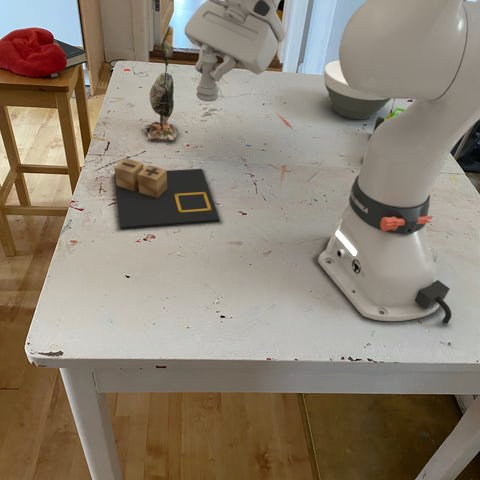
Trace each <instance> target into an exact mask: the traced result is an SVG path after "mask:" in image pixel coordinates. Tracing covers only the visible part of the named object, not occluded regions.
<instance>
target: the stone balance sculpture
mask: <svg viewBox="0 0 480 480" xmlns="http://www.w3.org/2000/svg"><path fill="white" fill-rule="evenodd" d="M161 49H162V50H161V51H162V57H161V58H162V60H163V61H165V63H164V64H165V72H162V73H161V74H159V75H158V76H157V78H156V80H155V81H154V83H153V84H152V86H151V88H150V90H149V102H150V105H151V109H152V111H153V112H154V113H155V114H157V115H159V121H154V122H153V121H152V123H151V124H146V126H145V128H144V132H146V133H145V134H146V135H147V136H148V140H150V141H151V140H155V139H159V140H163V141H165V140H166V141H169V142H173V141H176V139H177V136H178V134H179V129H178V128H176V127H175V126H174V125H173V124H172V123H170V124H169V123H168V121H169V119H170V118H171V116H172V114H173V110H174V107H175V106H174V105H175V104H174V102H175V101H174V79H173V76H172V75H171V74H170V73H168V72H167V71H168V66H169V60H171V59H172V58H173V54H174V53H173V49H172V46H171V44H170V43H169V42H168V40H165V41H163V42H162V45H161ZM171 73H174V71H171Z"/></svg>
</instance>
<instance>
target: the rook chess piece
mask: <svg viewBox="0 0 480 480" xmlns="http://www.w3.org/2000/svg"><path fill="white" fill-rule="evenodd" d="M201 61H202V62H203V66H202V74H201V77H200V81H199V83H198V86H197V87H196V93H195V94H196V97H197V98H198V99H199V100H201V101H204V102H215V101H216V100H218V98H219V88H218V86H217V82H216V81H215V80H213V79H212V78H211V77H210V76H209V73H210V71H212V68H213V67H216V64H217V63H218V57H217V55H216V53H214V54H213V52H210V54H208V51H206V54H205V52H203V56H202V57H201Z"/></svg>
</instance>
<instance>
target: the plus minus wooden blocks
mask: <svg viewBox="0 0 480 480" xmlns="http://www.w3.org/2000/svg"><path fill="white" fill-rule="evenodd" d="M167 171H168V170H167V169H164V168H161V167H158V166H154V165H151V164H147V165H146V166H145V165H144V162H140V161H136V160H134V159H131V158H126V157H125V158H123V159H122V160H121V161H120V162H119V163H117V164H116V165H115V166H114V174H115V177H116V185H117V186H119V187H122V188H126V189H129V190H132V191H135V190H136V189H137V188H138V187H139V193H142V194H145V195H149V196H152V197H155V198H158V197H159V196H160V195H161V194H162V193H163V192H164V191H165V190H166V189H167Z"/></svg>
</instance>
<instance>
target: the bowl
mask: <svg viewBox="0 0 480 480" xmlns="http://www.w3.org/2000/svg"><path fill="white" fill-rule="evenodd" d="M323 81H324V86H325V88H326V90H327V92H328V97H329V99H330V102H331V103H332V108H333V110H334V111H335V112H336V113H337V114H339V115H340V116H342V117H345V118H348V119H352V120H366V119H371V118H372V117H374V116H375V115H376V114H377V112H378V111H380V110H381V109H383V108H384V107H385V105H386V104H387V103H388V102H390V101H391V100H392V98H381V97H378V96H374V95H370V94H366V93H363V92H360V91H356V90H353V89H351V88H350V87H349V85H348V84H347V82H346V81H345V79H344V77H343V74H342V71H341V67H340V62H339V59H337V60H333V61H330V62H328V63H327V64H326V65H325V66H324V70H323Z"/></svg>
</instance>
